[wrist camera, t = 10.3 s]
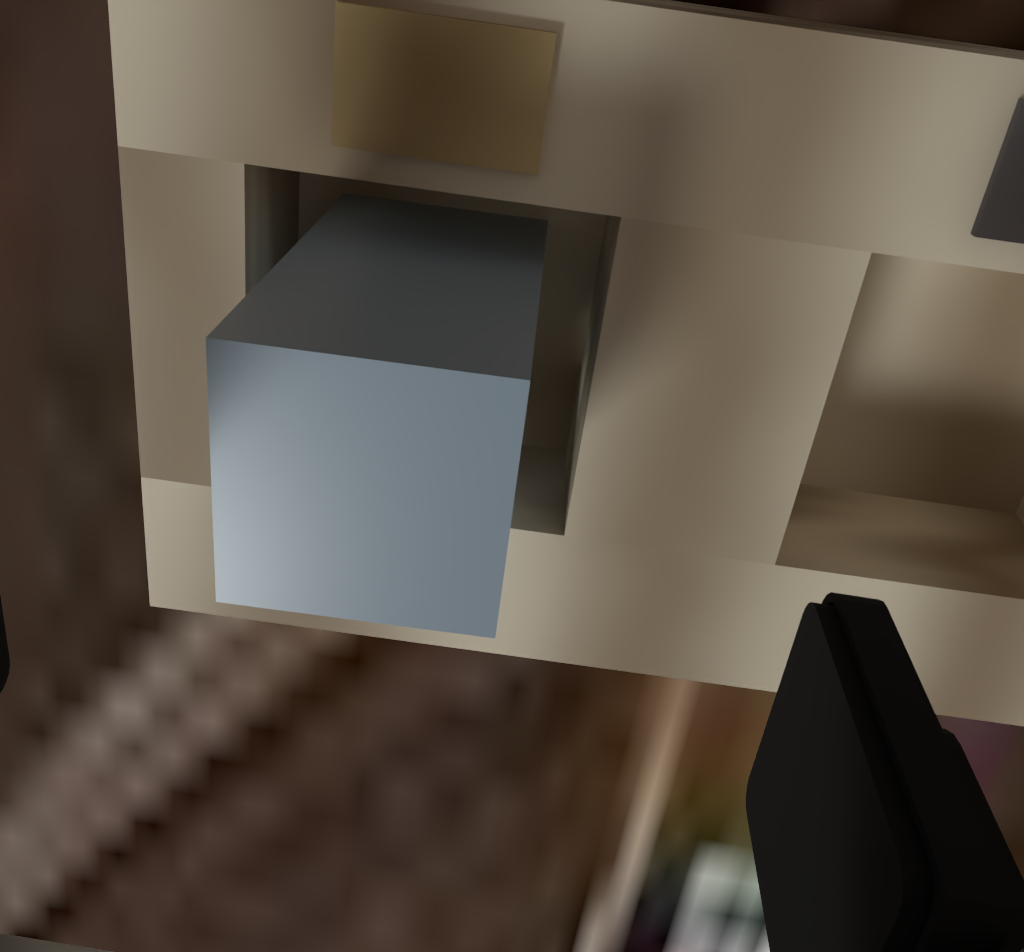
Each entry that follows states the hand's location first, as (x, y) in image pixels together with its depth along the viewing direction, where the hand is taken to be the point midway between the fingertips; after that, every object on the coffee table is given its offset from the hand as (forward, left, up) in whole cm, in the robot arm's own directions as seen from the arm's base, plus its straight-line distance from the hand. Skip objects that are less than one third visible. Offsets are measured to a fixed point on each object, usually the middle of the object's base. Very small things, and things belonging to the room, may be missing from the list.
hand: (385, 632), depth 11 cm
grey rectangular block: (+1, 0, -10) cm, 10 cm away
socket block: (-4, 0, -11) cm, 12 cm away
